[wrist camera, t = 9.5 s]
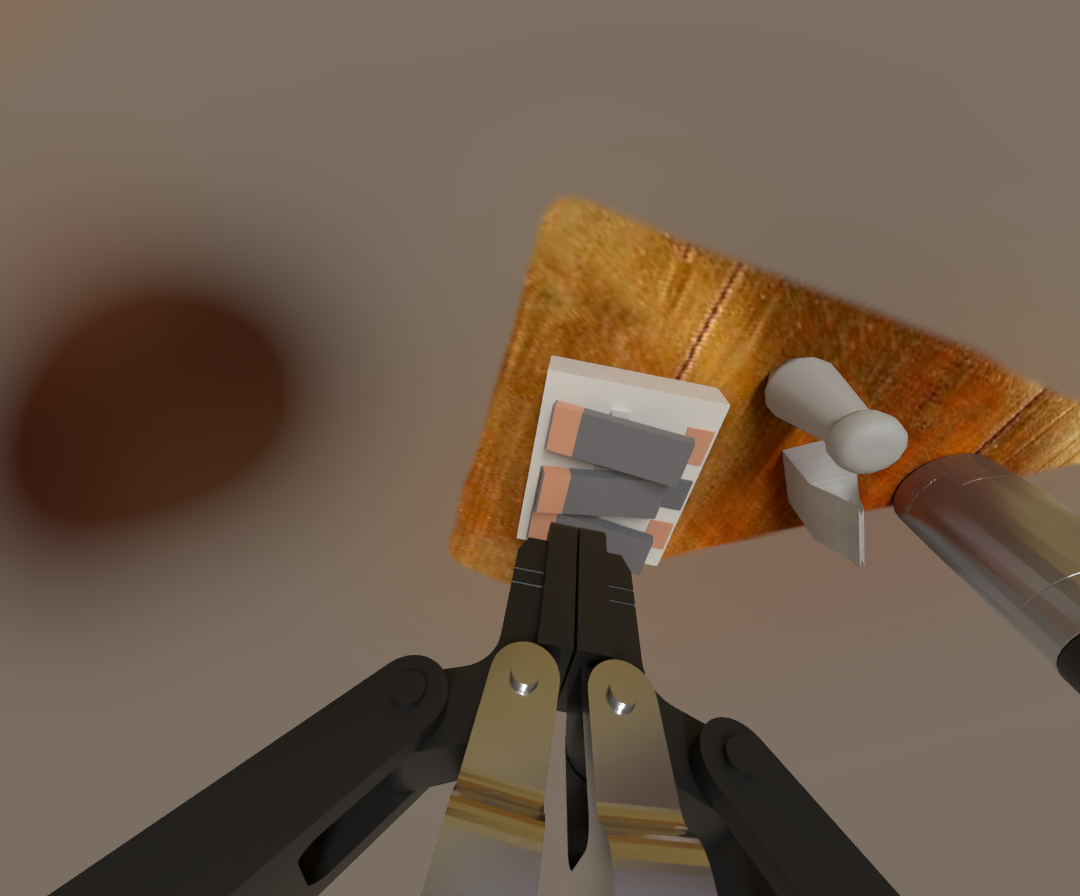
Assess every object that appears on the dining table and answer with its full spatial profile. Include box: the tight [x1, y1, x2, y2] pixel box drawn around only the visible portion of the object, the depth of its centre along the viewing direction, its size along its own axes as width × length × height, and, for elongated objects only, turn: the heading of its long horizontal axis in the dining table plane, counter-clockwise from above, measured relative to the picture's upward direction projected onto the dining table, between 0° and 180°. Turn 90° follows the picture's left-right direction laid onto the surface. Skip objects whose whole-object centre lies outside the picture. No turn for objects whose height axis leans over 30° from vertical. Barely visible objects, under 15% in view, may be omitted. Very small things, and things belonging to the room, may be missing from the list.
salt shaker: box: [765, 357, 908, 474], centre depth 32 cm, size 6×6×13 cm
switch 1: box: [544, 400, 695, 488], centre depth 35 cm, size 12×4×1 cm, turn 81°
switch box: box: [517, 355, 730, 566], centre depth 41 cm, size 16×20×5 cm
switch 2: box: [533, 466, 668, 519], centre depth 38 cm, size 12×4×1 cm, turn 80°
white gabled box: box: [782, 440, 864, 568], centre depth 37 cm, size 4×7×10 cm, turn 21°
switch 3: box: [526, 505, 653, 575], centre depth 40 cm, size 12×4×1 cm, turn 81°
